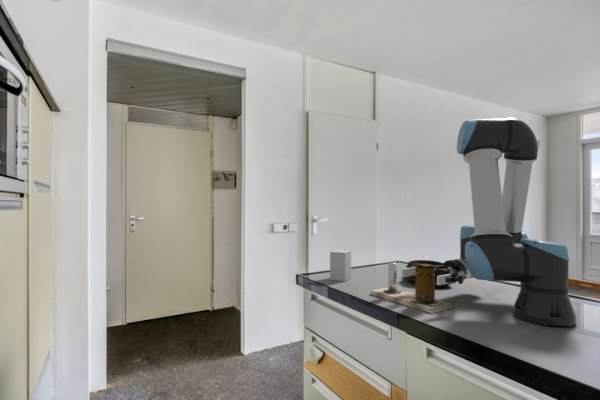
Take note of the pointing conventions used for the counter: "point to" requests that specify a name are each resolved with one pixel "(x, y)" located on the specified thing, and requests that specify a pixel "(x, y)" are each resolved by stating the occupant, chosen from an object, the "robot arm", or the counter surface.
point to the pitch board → (409, 300)
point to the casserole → (416, 262)
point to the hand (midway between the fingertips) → (419, 276)
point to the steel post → (392, 277)
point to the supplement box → (340, 265)
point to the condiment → (425, 285)
